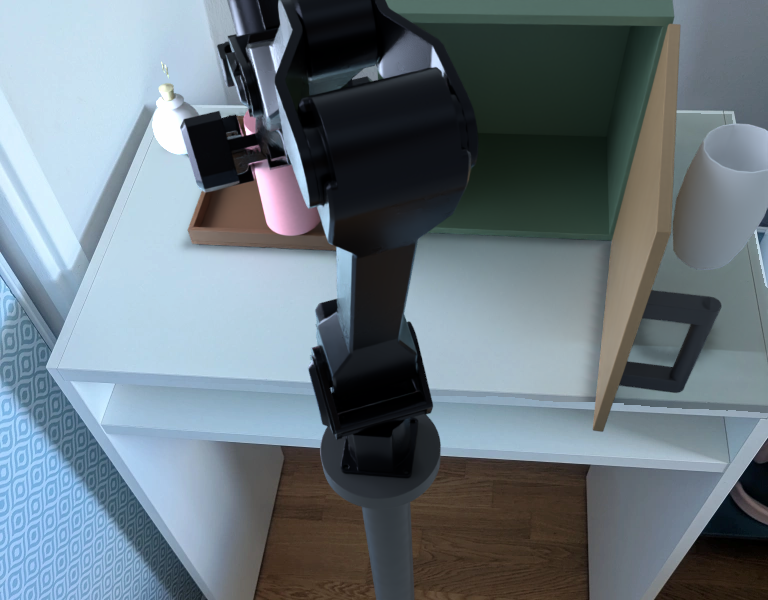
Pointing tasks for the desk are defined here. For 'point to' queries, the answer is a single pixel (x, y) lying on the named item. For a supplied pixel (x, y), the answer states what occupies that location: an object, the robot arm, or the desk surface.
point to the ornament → (171, 118)
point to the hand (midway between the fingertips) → (281, 153)
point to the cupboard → (548, 107)
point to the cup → (722, 196)
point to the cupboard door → (648, 256)
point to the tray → (244, 220)
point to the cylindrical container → (281, 195)
